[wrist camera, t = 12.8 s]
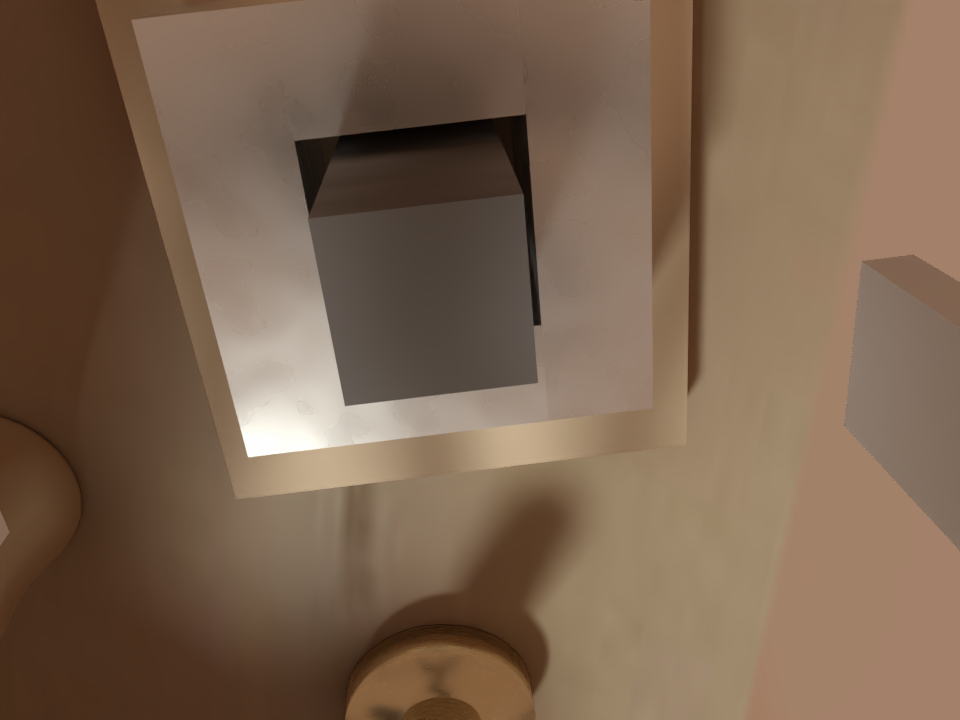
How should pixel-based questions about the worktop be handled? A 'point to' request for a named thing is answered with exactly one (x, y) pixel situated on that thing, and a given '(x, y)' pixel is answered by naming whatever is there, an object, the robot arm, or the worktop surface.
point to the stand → (440, 678)
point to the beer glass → (32, 510)
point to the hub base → (465, 441)
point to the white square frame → (395, 105)
